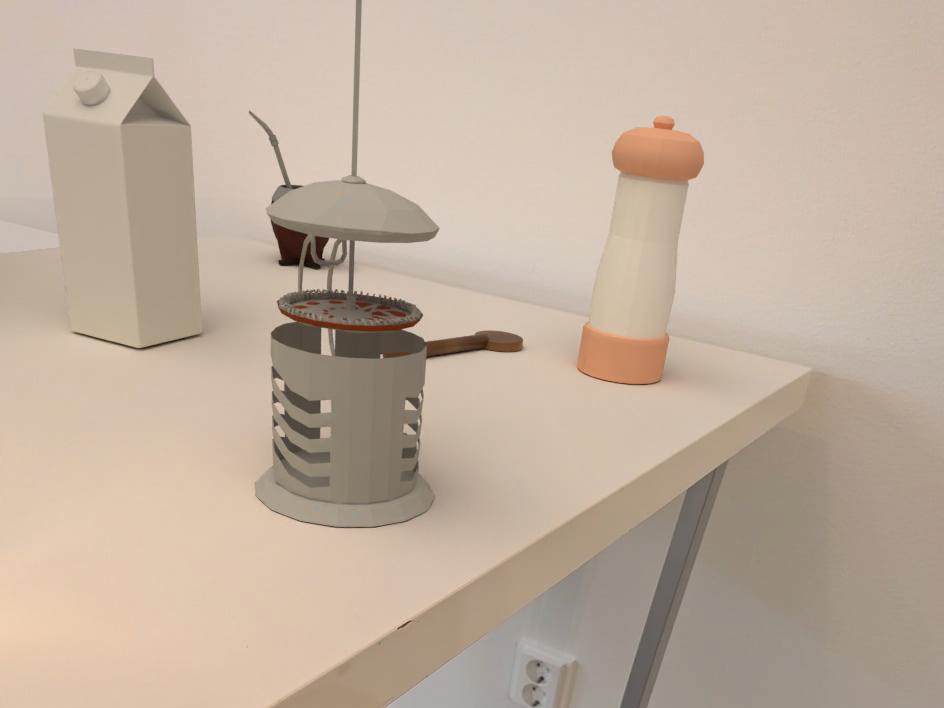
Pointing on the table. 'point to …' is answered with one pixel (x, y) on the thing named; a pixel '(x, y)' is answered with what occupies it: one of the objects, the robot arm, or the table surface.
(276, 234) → the mate gourd
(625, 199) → the pepper shaker
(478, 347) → the wooden spoon
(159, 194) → the milk carton
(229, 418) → the table surface
